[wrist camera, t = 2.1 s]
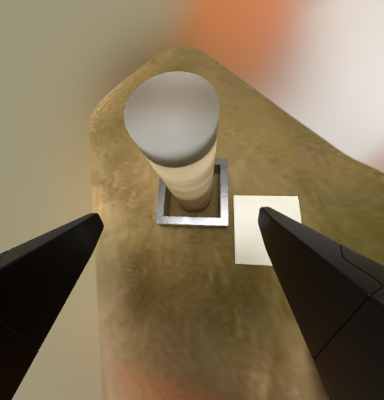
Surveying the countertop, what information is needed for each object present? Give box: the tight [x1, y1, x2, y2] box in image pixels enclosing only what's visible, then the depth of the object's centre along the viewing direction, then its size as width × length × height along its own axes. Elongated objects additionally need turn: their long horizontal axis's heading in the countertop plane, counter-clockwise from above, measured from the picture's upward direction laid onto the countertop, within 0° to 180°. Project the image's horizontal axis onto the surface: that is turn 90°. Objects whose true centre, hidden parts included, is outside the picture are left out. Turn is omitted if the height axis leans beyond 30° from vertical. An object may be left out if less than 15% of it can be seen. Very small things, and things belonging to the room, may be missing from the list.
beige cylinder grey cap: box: [124, 71, 220, 212], centre depth 14 cm, size 4×4×14 cm
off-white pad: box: [233, 196, 301, 266], centre depth 18 cm, size 8×8×1 cm
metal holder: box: [156, 158, 228, 228], centre depth 19 cm, size 8×8×2 cm
